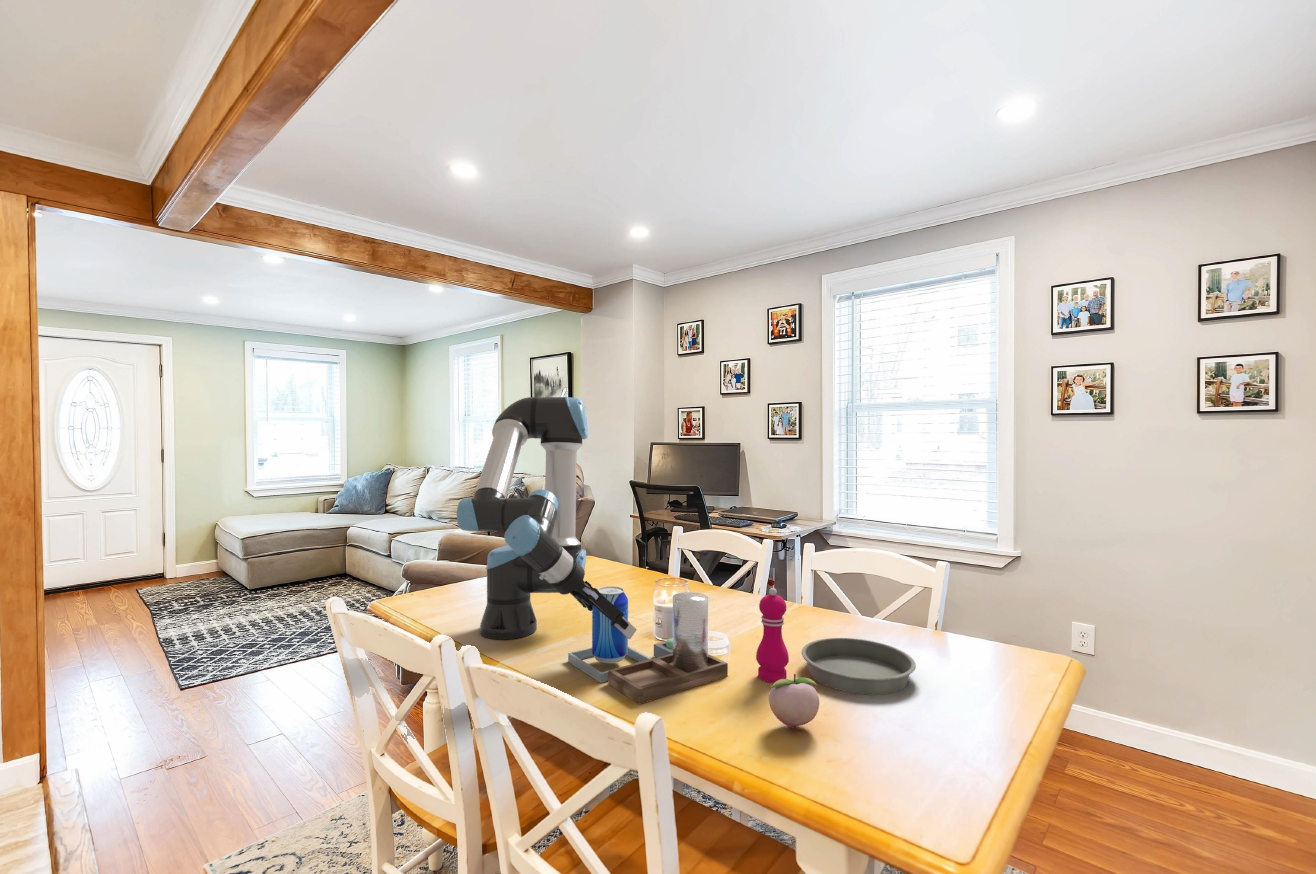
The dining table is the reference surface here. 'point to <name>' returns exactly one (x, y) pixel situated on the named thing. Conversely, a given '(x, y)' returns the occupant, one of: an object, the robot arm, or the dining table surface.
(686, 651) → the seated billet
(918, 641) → the dining table surface
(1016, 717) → the dining table surface
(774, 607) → the pepper mill
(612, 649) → the beer can
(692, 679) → the wooden divided tray
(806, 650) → the cake pan
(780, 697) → the decorative fruit
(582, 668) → the frame
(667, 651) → the button housing
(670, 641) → the button
